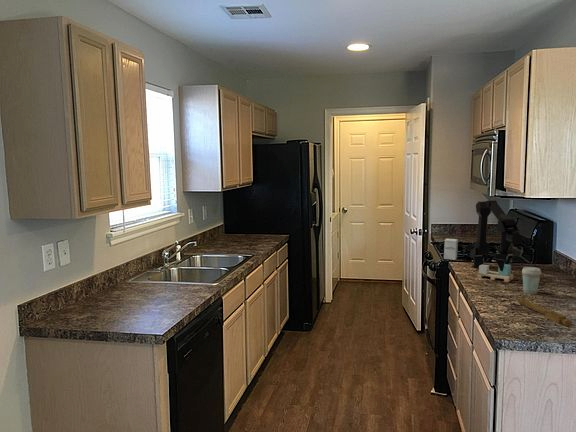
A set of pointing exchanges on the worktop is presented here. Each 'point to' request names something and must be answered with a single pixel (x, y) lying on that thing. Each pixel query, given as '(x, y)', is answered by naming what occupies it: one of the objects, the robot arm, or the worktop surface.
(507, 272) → the teal cube box
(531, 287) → the coffee cup
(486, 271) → the gray cube
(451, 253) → the supplement box
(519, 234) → the robot arm
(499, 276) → the pallet dock
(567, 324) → the tap handle
